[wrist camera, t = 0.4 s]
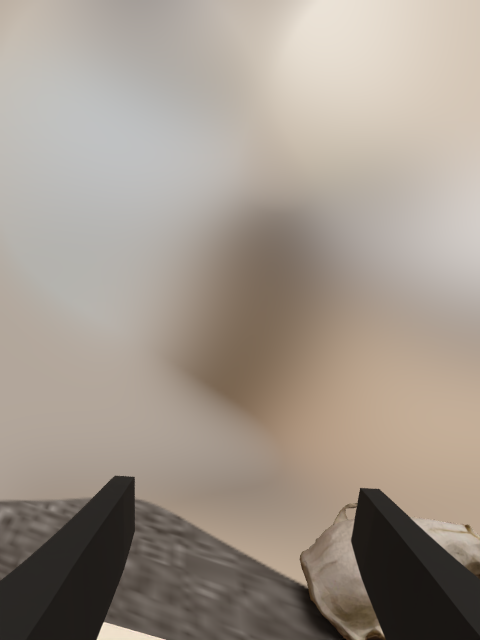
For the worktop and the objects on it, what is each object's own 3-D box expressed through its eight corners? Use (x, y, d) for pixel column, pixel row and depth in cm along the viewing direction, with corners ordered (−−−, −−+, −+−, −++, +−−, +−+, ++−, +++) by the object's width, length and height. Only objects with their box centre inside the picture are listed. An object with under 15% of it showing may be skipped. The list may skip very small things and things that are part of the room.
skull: (451, 622, 30) (568, 687, 21) (284, 621, 28) (335, 693, 19) (432, 505, 34) (523, 519, 25) (284, 496, 32) (326, 507, 23)
